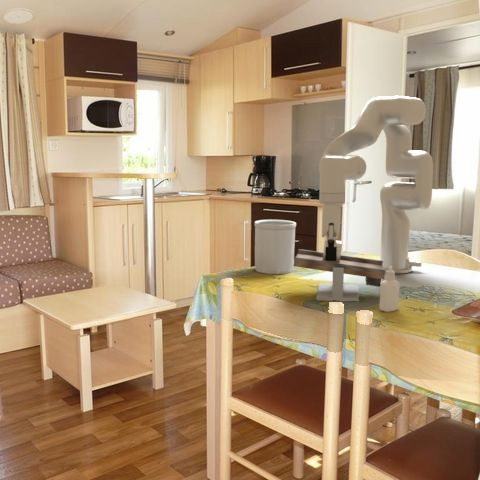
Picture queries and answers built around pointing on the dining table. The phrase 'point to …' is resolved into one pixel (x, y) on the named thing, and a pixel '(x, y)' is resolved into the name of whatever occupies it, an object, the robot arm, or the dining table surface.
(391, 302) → the eye dropper bottle
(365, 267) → the beam
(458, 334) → the dining table surface
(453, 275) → the dining table surface
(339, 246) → the rider
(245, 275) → the dining table surface
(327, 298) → the fulcrum
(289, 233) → the utensil holder
